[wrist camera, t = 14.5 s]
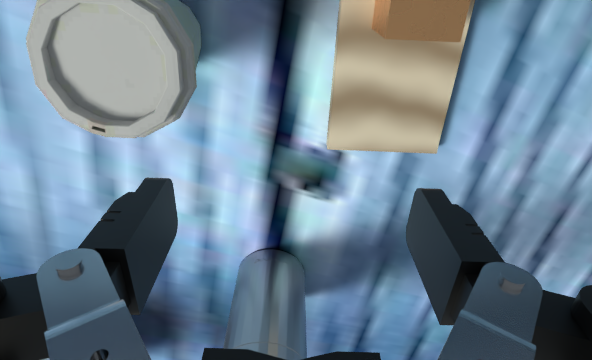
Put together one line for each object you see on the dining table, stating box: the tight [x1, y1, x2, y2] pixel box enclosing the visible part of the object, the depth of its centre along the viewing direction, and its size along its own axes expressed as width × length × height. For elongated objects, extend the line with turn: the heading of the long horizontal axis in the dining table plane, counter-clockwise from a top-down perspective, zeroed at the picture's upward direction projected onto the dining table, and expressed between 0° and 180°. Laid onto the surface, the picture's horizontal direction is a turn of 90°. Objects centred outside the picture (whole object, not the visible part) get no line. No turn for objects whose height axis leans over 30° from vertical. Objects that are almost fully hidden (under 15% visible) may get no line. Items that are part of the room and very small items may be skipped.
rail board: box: [327, 0, 475, 153], centre depth 35 cm, size 22×12×4 cm, turn 178°
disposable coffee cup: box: [26, 0, 201, 138], centre depth 30 cm, size 11×11×15 cm
